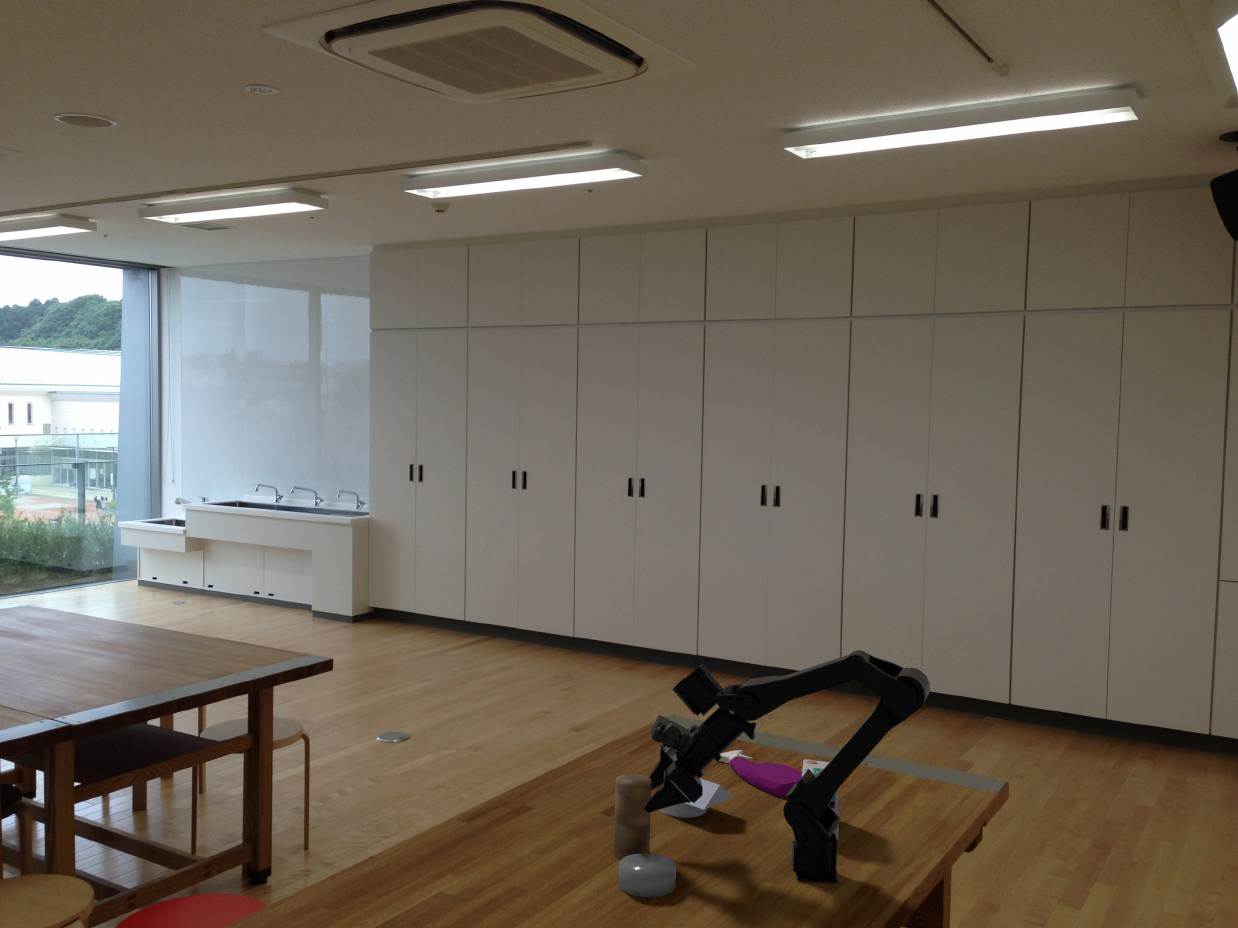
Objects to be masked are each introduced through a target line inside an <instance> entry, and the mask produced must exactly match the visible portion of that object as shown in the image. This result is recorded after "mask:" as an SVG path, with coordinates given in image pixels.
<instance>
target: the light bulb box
mask: <svg viewBox="0 0 1238 928" xmlns="http://www.w3.org/2000/svg"><path fill="white" fill-rule="evenodd" d="M829 762H830V761H823V760H814V759H803V763H802V771H801V772H802V777H803V775H804V774H805V773H806V771H807V770H808V769H810V771H811V772H812V773H813V774H814V775H815V774H817V773H818V772H820V771H821V770H823V769H824V768H825V767H826V765H827V764H828V763H829ZM840 787H841V786H840ZM840 787H839V788H838V790H837V791H836V793H835V795H834V797H833V798H832V800H831V802H830V804H829V806H830V807H831V808H832V809H833V810H834V812H835V813H836V814H837V815H838V816H839V817H840V797H841V796H840V791H841V789H840ZM839 826H840V823H839V824H838V826H837V828H836V830H835V831H834V832H833V833H835V835H836V838H837V842H838V840H839V828H840V827H839Z"/></svg>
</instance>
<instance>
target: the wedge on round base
mask: <svg viewBox="0 0 1238 928" xmlns="http://www.w3.org/2000/svg"><path fill="white" fill-rule="evenodd" d="M699 779H700V780H701V783H702V787H703V794H702V796H701V797H700V798H699V799H698V800H697V801H696V802H695V803H693V802H690V803H687V802H686V803H682V804H678V805H674V806H670V807H666V808H663V809H660V810H659V811H660V812H661V811H662V812H661V813H663V814H665V815H667V814H668V815H667V816H670V815H671V817H674V816H675V817H676V818H686V819H687V818H696V817H699V816H703V815H705V814H706V813H707V811H708V809H709V808H712V807H714V806H716V805H719V804H720V803H723V802H725V801H728V800H730V799H733V798H735V796H734V795H733V794H731V793H730V792H729V791H728V790H727V789H725V787H723V786H722V785H720V784H719V783H715V782H711V781H709V780H707V779H702V778H699Z"/></svg>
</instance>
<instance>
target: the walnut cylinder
mask: <svg viewBox="0 0 1238 928" xmlns="http://www.w3.org/2000/svg"><path fill="white" fill-rule="evenodd" d="M651 784H652V780H651V779H650V778H649V776H647V775H644V774H638V773H627V774H621V775H619V776H617V777H616V778H615V788H614V789H615V792H614V793H615V797H614V828H613V829H614V834H613V836H614V837H613V838H614V839H613V855H614V857H615V858H617V859H619V860H621V859H623V858H624V857H626V856H629V855H633V854H639V853H651V851H650V848H651V847H650V846H651V818H652V817H651V815H652V814H651V813H652V812H650V813H648V812H647V811H646V810H645V809H644V807H645V805H646V804H647V803H648V801H649V800H650V799H651V798H652V790H651Z"/></svg>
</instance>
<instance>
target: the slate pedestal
mask: <svg viewBox="0 0 1238 928" xmlns="http://www.w3.org/2000/svg"><path fill="white" fill-rule="evenodd" d="M676 881H677V864H676V863H675V861H674V860H672V859H671V858H669V857H667V856H665V855H662V854H658V853H657V854H656V853H651V852H650V853H639V854H633V855H629V856H626V857H624V858H623V859H619V862H618V881H617V885H618V887H619V890H621V891H623V892H624V893H626V894H629V895H631V896H634V897H639V898H649V899H651V898H652V899H653V898H660V897H664V896H667V895H669V894H671V893H673V892H674V891H675V889H676V885H677V884H676V883H677V882H676Z"/></svg>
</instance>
